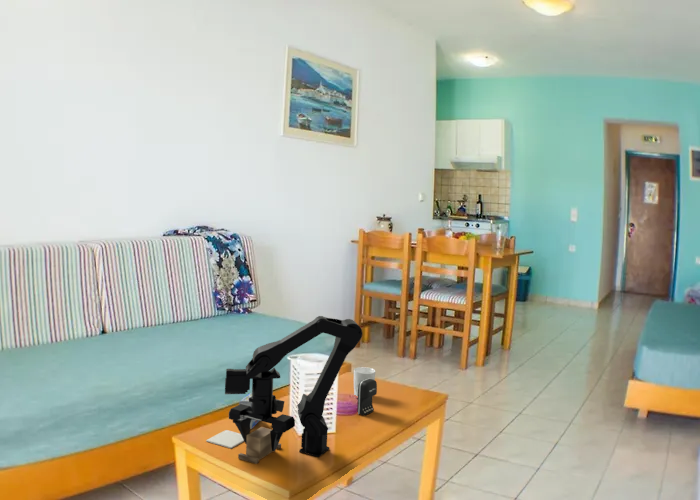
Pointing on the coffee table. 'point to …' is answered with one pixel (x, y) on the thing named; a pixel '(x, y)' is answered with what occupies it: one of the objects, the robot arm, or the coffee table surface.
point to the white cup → (362, 376)
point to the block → (259, 443)
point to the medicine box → (246, 402)
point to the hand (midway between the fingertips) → (260, 447)
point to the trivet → (227, 439)
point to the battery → (366, 396)
